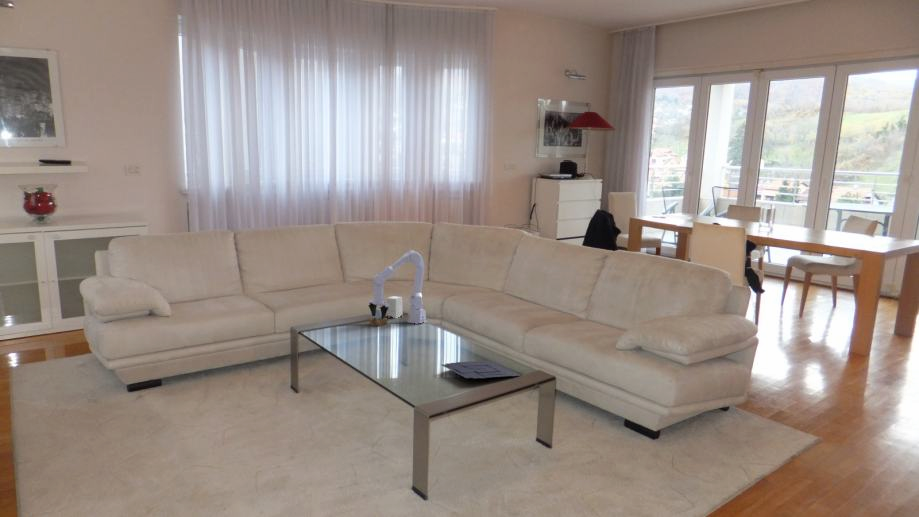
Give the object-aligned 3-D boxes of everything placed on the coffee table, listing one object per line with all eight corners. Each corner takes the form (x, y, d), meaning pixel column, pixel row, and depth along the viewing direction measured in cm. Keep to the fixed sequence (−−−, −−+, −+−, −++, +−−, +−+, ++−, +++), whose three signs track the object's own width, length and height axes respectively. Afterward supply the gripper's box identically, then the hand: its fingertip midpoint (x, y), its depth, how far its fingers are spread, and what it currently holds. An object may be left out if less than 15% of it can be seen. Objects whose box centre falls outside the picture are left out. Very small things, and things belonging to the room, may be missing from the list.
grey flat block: (437, 369, 268) (438, 361, 268) (488, 366, 285) (489, 359, 285) (467, 385, 248) (468, 377, 248) (520, 381, 265) (522, 373, 265)
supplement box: (402, 316, 372) (403, 297, 370) (395, 318, 366) (395, 299, 364) (393, 314, 376) (393, 295, 374) (386, 317, 369) (386, 297, 368)
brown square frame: (387, 324, 351) (387, 318, 351) (378, 326, 345) (378, 320, 345) (378, 322, 356) (378, 316, 355) (369, 324, 349) (369, 318, 349)
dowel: (382, 324, 351) (382, 309, 349) (378, 325, 348) (378, 310, 347) (378, 323, 353) (378, 309, 351) (374, 324, 350) (374, 309, 349)
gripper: (365, 294, 349) (365, 316, 351) (383, 297, 340) (383, 320, 342) (373, 292, 354) (373, 314, 356) (391, 295, 346) (391, 318, 348)
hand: (378, 317), depth 350 cm, fingers open, 7 cm apart
